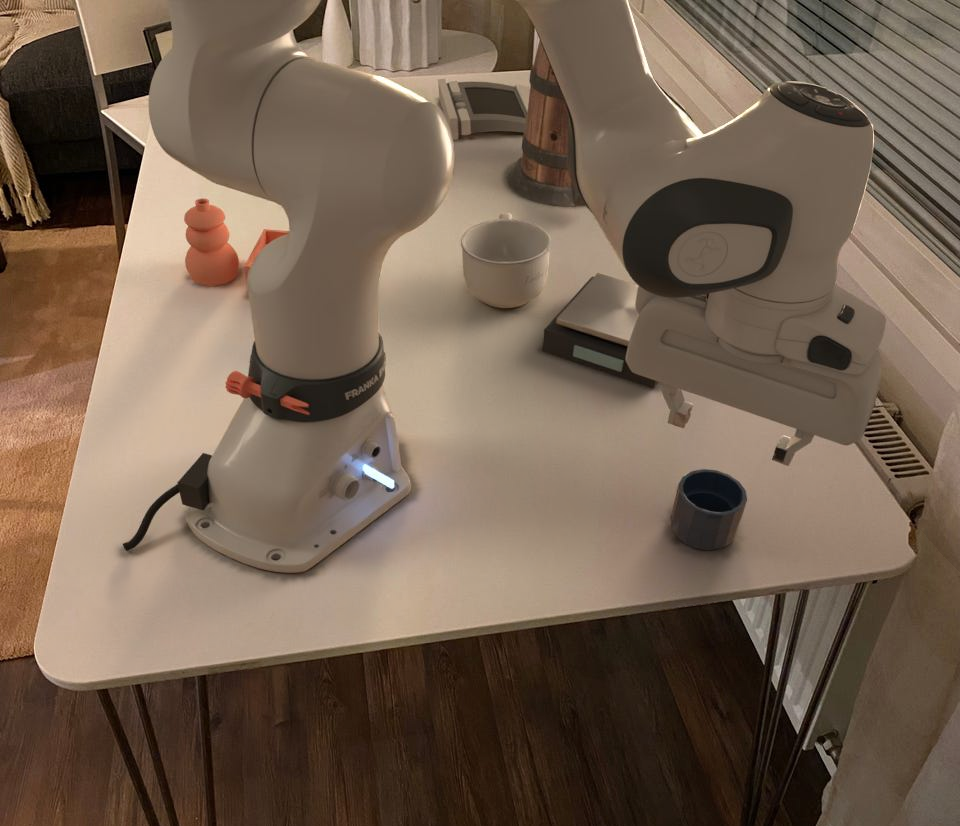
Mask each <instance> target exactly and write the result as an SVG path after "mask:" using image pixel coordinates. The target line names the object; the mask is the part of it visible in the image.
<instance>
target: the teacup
mask: <svg viewBox="0 0 960 826" xmlns="http://www.w3.org/2000/svg"><path fill="white" fill-rule="evenodd" d="M551 239H552V238H551V236H550V235H549V233H548V232H547V230H546V229H544V228H543V227H542V226H539V225H538V224H536V223H533V222H530V221H525V220H523V219H522V220H521V219H513V216H512V213H510V212H501V213H499V216H498V219H490V220H486V221H482V222H479V223H477V224H475V225H473V226H471V227H470V228H468V229H467V230H466V231H465V232H464V233H463V234H462V236H461V238H460V246H461V250H462V271H463V278H464V282H465V285H466V288H467V290H468V291H469V292H470V293H471V295H472V296H474V297H475V298H476V299H478V300H479V301H481V302H482V303H484V304H486V305H488V306H491V307H493V308H496V309H497V308H498V309H514V308H519V307H522V306H523V305H525V304H527V303H529V302H531V301H532V300H534V299H535V298H537V297H538V295H540V294H541V293H542V291H543V290H544V289H545V286H546V283H547V280H548V276H549V275H548V274H549V265H550V248H551V245H552V240H551Z"/></svg>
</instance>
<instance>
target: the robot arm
mask: <svg viewBox="0 0 960 826" xmlns="http://www.w3.org/2000/svg"><path fill="white" fill-rule="evenodd" d="M165 1H166V5H167V9H168V14H169V18H170V24H171V25H170V26H171V36H172V38H171V43H172V44H171V48H170V49H169V50H168V51H167V52H166V54H165V55H164V56H163V58H162V59H161V60H160V62H159V63H158V65H157V66H156V68H155V70H154V74H153V75H152V79H151V82H150V85H149V86H150V87H149V92H148V116H149V121H150V125H151V129H152V132H153V135H154V138H155V140H156V141H157V143H158V145H159V146H160V148H161V149H162V150H163V152H165V153H166V155H168V156H169V157H171V158H172V159H173V160H175V161H176V162H178V163H180V164H181V165H183V166H184V167H186V168H188V169H189V170H190V171H192V172H194V173H196V174H198V175H199V176H201V177H203V178H205V179H206V180H208V181H210V182H211V183H213V184H215V185H218V186H221V187H224V188H228V189H231V190H235V191H237V192H240V193H243V194H247V195H250V196H254V197H256V198H260V199H263V200H266V201H268V202H273V203H275V204H277V205H278V206H281V207H282V209H283V212H285V214H286V217H287V220H288V229H289V230H288V231H289V233H288V234H286V235H283V236H281V237H279V238H277V239H275V240H273V241H271V242H270V243H268V244H267V245H266V246H265V247H263V249H262V250H261V251H260V252H259V253H258V254H257V256H256V258H255V259H254V261H253V263H252V265H251V267H250V269H249V272H248V276H247V283H246V289H247V288H248V290H247V296H248V295H249V297H248V301H249V309H250V315H251V323H252V329H253V336H254V341H253V344H252V347H251V352H250V353H251V354H250V357H249V366H248V372H247V373H248V374H247V376H246V375H245V374H243V373H242V372H240V371H237V370H234V371H231V373H230V374H229V375H228V376H227V378H226V381H225V389H226V392H227V393H229V394H232V395H236V396H240V397H241V398H243V399H242V401H241V402H240V405H239V406H238V408H237V409H236V411H235V413H234V415H233V417H232V419H231V421H230V423H229V425H228V426H227V428H226V429H225V432H224V434H223V435H222V437H221V439H220V441H219V443H218V445H217V446H216V448H215V450H214V452H213V453H212V454H209V453H205V452H202V453H201V455H199V457H198V458H197V459H196V460H195V461H194V463H193V464H192V465H191V466H190V468H188V469H187V470H186V472H185V473H184V474H183V475H182V477H180V479H179V480H178V481H177V484H175V485H174V486H172V487H170V488H169V489H168V490H166V491H165V492H164V493H162V494H161V495H160V496H159V497H158V498H157V499H156V500H154V502H152V504H151V505H150V506H149V508H148V509H147V511H146V512H145V514H144V516H143V518H142V520H141V522H140V525H139V527H138V529H137V531H136V532H135V534H134V535H133V537H132V538H131V539H129V540H128V541H125V542H124V543H123V542H122V546H123V549H124V551H126V552H127V551H131V550H133V549H135V548H136V547H137V546H138V545H139V544H140V543H141V542H142V540H143V539H144V538H145V536H146V534H147V532H148V530H149V528H150V526H151V523H152V521H153V520H154V517H155V515H156V514H157V512H158V511H159V510H160V509H161V508H162V507H163V506H164V505H165V504H166V503H167V502H169V500H171V499H172V498H174V497H176V496H177V495H178V494H179V497H180V500H181V505H183V506H186V507H187V508H186V510H185V521H186V523H187V525H188V527H189V529H190V531H191V532H192V533H193V534H194V535H195V537H197V538H198V539H199V540H200V541H201V542H202V543H204V544H205V545H206V546H208V547H210V548H211V549H213V550H214V551H216V552H218V553H220V554H222V555H224V556H226V557H227V558H230V559H232V560H235V561H237V562H240V563H242V564H244V565H247V566H250V567H254V568H256V569H261V570H264V571H270V572H275V573H288V574H289V573H290V574H291V573H293V574H294V573H304V572H307V571H308V570H309V569H311V568H313V567H314V566H316V565H317V564H318V563H320V562H321V561H322V560H324V559H325V558H326V557H327V556H329V555H330V554H332V553H333V552H334V551H335V550H337V549H338V548H340V547H341V546H342V545H343V544H345V543H346V542H347V541H348V540H350V539H351V538H353V537H354V536H355V535H356V534H358V533H360V532H361V531H363V530H364V529H365V528H366V527H367V526H369V525H370V524H371V523H372V522H374V521H375V520H377V519H378V518H379V517H380V516H382V515H383V514H385V513H386V512H387V511H389V510H390V509H391V508H392V507H393V506H395V505H397V504H398V503H399V502H400V501H402V500H403V499H404V498H406V497H407V496H409V494H410V493H411V492H412V484H411V479H410V477H409V475H408V474H407V472H406V471H405V469H404V468H403V466H402V460H401V453H400V446H399V438H398V431H397V426H396V419H395V415H394V412H393V410H392V408H391V405H390V402H389V399H388V397H387V394H386V391H385V388H384V382H385V379H386V363H387V358H386V357H387V356H386V352H385V348H384V347H385V346H384V340H383V337H382V335H381V333H380V331H379V330H380V329H379V291H380V290H379V289H380V276H381V275H380V274H381V270H382V266H383V263H384V261H385V258H386V256H387V253H388V252H389V250H390V248H391V247H392V246H393V244H394V243H396V241H398V240H399V239H400V238H401V237H402V236H404V235H406V234H407V233H410V232H412V231H414V230H416V229H417V228H420V226H422V225H423V224H425V223H426V222H427V221H428V220H429V219H430V218H431V217H432V216H433V215H434V214H435V213H436V212H437V210H438V209H439V208H440V206H441V205H442V204H443V202H444V200H445V198H446V196H447V194H448V192H449V189H450V187H451V185H452V181H453V177H454V171H455V162H456V161H455V160H456V155H455V154H456V153H455V152H456V151H455V143H454V140H453V137H452V133H451V130H450V127H449V124H448V122H447V119H446V117H445V115H444V113H443V110H442V108H440V106H438V105H437V104H436V103H434V102H432V101H431V100H429V99H427V98H425V97H423V96H421V95H420V94H418V93H417V92H415V91H412V90H411V89H409V88H407V87H405V86H403V85H401V84H399V83H397V82H395V81H394V80H391V79H389V78H387V77H384V76H380V75H377V74H373V73H369V72H365V71H361V70H357V69H353V68H349V67H345V66H342V65H337V64H333V63H330V62H326V61H323V60H317V59H316V58H314V57H311V56H309V55H307V54H306V52H305V51H304V50H303V49H302V48H301V47H300V45H299V44H298V42H297V39H296V36H295V33H294V30H295V29H296V28H298V27H299V26H301V25H302V24H303V23H305V21H307V20H308V19H309V18H310V17H311V15H313V13H314V12H315V11H316V9H317V8H318V6H319V4H320V3H321V2H322V0H165ZM514 1H515V2H518V4H519V5H520V6H521V8H522V9H523V10H524V12H525V13H526V14H527V15H528V18H529V19H530V21H531V22H532V25H533V28H534V30H535V32H536V34H537V37H538V39H539V40H540V42H541V44H542V47H543V49H544V52H545V54H546V56H547V59H548V61H549V64H550V66H551V69H552V71H553V74H554V76H555V79H556V81H557V84H558V86H559V88H560V91H561V93H562V96H563V99H564V101H565V104H566V108H567V114H568V146H567V162H568V171H569V176H570V180H571V183H572V185H573V187H574V189H575V191H576V193H577V194H578V196H579V197H580V198H581V200H582V201H583V202H584V204H585V205H586V206H585V207H586V208H587V209H588V210H589V211H590V213H591V214H592V215H593V217H594V219H595V221H596V222H597V224H598V226H599V227H600V229H601V231H602V233H603V234H604V236H605V238H606V240H607V241H608V243H609V244H610V246H611V248H612V249H613V251H614V253H615V255H616V257H617V258H618V259H619V261H620V263H621V264H622V266H623V268H624V269H625V270H626V272H627V273H628V275H629V277H630V278H631V279H632V280H633V281H634V284H637V285H639V286H638V289H637V295H636V302H635V306H636V310H637V312H638V314H639V316H638V318H637V321H636V323H635V326H634V328H633V331H632V334H631V337H630V341H629V344H628V348H627V352H626V358H625V360H626V362H627V364H628V366H629V368H630V370H631V371H632V372H633V373H635V374H638V375H641V376H644V377H647V378H650V379H653V380H655V381H658V383H662V384H661V388H660V391H661V394H662V396H663V398H664V401H665V403H666V405H667V407H668V409H669V414H668V418H667V424H670V425H672V426H675V427H678V428H681V429H685V427H686V425H687V424H688V423H689V421H690V418H691V415H692V414H691V412H692V410H693V407H694V404H693V403H691V402H689V401H686V400H685V397H684V395H683V391H685V392H688V393H689V394H694V395H696V396H699V397H702V398H705V399H708V400H711V401H714V402H717V403H720V404H723V405H726V406H728V407H732V408H734V409H737V410H740V411H743V412H746V413H749V414H751V415H755V416H758V417H760V418H763V419H766V420H769V421H772V422H774V423H778V424H781V425H783V426H787V427H790V428H793V429H795V433H794V435H793V436H792V437H789V436H787V435H783V434H782V435H781V436H780V438H779V441H778V442H777V443H776V446H775V448H774V452H773V455H772V458H771V461H773V462H776V463H779V464H781V465H783V466H786V467H789V466H790V464H791V462H792V460H793V458H794V456H795V453H796V452H799V451H800V450H802V449H803V448H804V447H806V446H808V445H809V444H811V443H812V441H813V440H814V437H815V436H816V437H819V438H822V439H824V440H827V441H830V442H833V443H836V444H838V445H842V446H850V445H853V444H855V443H857V442H859V441H860V440H861V439H862V438H863V436H864V434H865V432H866V429H867V427H868V425H869V422H870V420H871V417H872V415H873V411H874V407H875V404H876V401H877V397H878V393H879V389H880V384H881V379H882V373H883V372H882V371H883V359H882V356H881V352H880V351H879V348H880V346H881V344H882V341H883V338H884V334H885V330H886V324H887V319H886V315H884V313H882V312H881V311H880V310H879V309H877V308H876V307H873V306H871V305H870V304H869V303H867V302H865V301H864V300H862V299H860V298H859V297H857V296H856V295H855V294H853V293H851V292H850V291H849V290H847V289H846V288H844V287H843V286H841V285H840V284H838V282H837V280H838V261H839V256H840V253H841V251H842V249H843V247H844V246H845V244H846V243H847V241H848V240H849V239H850V237H851V235H852V233H853V231H854V228H855V225H856V222H857V219H858V216H859V213H860V209H861V206H862V203H863V199H864V196H865V192H866V188H867V184H868V180H869V176H870V171H871V166H872V160H873V153H874V144H875V142H874V141H875V133H874V125H873V123H872V122H871V121H870V117H869V116H868V115H867V114H866V113H865V112H864V111H863V110H862V109H861V108H860V107H859V106H858V105H857V104H855V102H853V101H852V100H850V99H849V98H847V97H846V96H844V95H842V94H841V93H837V92H835V91H833V90H831V89H828V87H824V86H821V85H817V84H813V83H810V82H804V81H796V80H795V81H793V80H792V81H791V80H787V81H783V82H776V83H773V84H771V85H769V86H768V87H767V88H766V90H765V91H764V92H763V93H762V95H760V97H759V98H758V100H757V101H755V103H753V104H752V105H751V106H749V108H747V109H746V110H744V111H743V112H742V113H740V114H739V115H737V116H736V117H735V118H733V119H732V120H730V121H728V122H726V123H724V124H723V125H721V126H719V127H718V128H715V129H714V130H711V131H709V132H706V133H703V132H702V131H701V130H700V129H699V127H698V126H697V125H696V123H695V121H694V119H693V118H692V116H691V115H690V114H689V112H688V111H687V110H686V108H685V106H683V104H682V103H681V101H679V100H678V99H677V98H676V97H675V96H674V95H673V94H672V93H671V92H670V91H669V90H668V89H666V88H665V87H664V86H663V85H662V84H660V83H659V82H658V81H657V80H656V79H655V77H654V76H653V74H652V72H651V70H650V68H649V65H648V61H647V58H646V55H645V51H644V49H643V45H642V42H641V38H640V35H639V32H638V28H637V26H636V24H635V20H634V16H633V13H632V10H631V7H630V4H629V0H514Z"/></svg>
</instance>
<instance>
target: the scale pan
mask: <svg viewBox="0 0 960 826" xmlns="http://www.w3.org/2000/svg"><path fill="white" fill-rule="evenodd" d="M593 277H594V278H593V279H592V280H591V281H590V282H589V283H588V284H587V285H586V286H585V288H584V289H583V290H582V291H581V292H580V293H579V294H578V295H577V296H576V298H575V299H574V300H573V301H572V302H571V303H570V304H569V305H568V307H567V308H566V309H565V310H564V311H563V312H562V313H561V314H560V315H559V317H558V318H557V322H556V324H558V325H561V326H565V327H568V328H571V329H574V330H577V331H580V332H583V333H587V334H590V335H593V336H596V337H599V338H602V339H605V340H608V341H612V342H615V343H618V344H621V345H624V346H627V347H628V344H629V341H630V337H631V334H632V331H633V328H634V326H635V323H636V321H637V318H638V316H639V314H638V312H637V310H636V306H635V302H636V295H637V289H638V286H639V285H638V284H636V283H635V282H630V281H627V280H624V279H619V278H616V277H613V276H609V275H607V274H603V273H600V272H597V273H596V274H595V275H594V276H593Z"/></svg>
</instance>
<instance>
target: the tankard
mask: <svg viewBox="0 0 960 826" xmlns="http://www.w3.org/2000/svg"><path fill="white" fill-rule="evenodd" d="M529 71H530V73H529V79H528V80H529V84H530V86H529V88H530V94H529V103H528V112H527V121H526V129H525V132H524V133H523V132H522V139H521V152H522V154H521V156H520V157H519V158H518V159H517V160H516V162H514V164H513V166H512V167H511V168H509V170H508V171H507V172H506V177H505V178H506V183H507V184H508V186H509V188H510V189H511V190H512V191H513V192H514V193H516V194H518V195H520V196H521V197H523V198H526V199H528V200H530V201H534V202H536V203H539V204H545V205H549V206H557V207H558V206H559V207H587V206H586V205H585V204H584V202H583V201H582V200H581V198H580V197H579V196H578V194H577V193H576V191H575V189H574V187H573V185H572V183H571V180H570V176H569V171H568V162H567V146H568V114H567V108H566V104H565V101H564V99H563V96H562V93H561V91H560V88H559V86H558V84H557V81H556V79H555V76H554V74H553V71H552V69H551V66H550V64H549V61H548V59H547V56H546V54H545V52H544V49H543V47H542V44H541V42H540V39H539V41H538V45H537V49H536V53H535V57H534V61H533V64H532V65H531V67H530V70H529Z"/></svg>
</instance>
